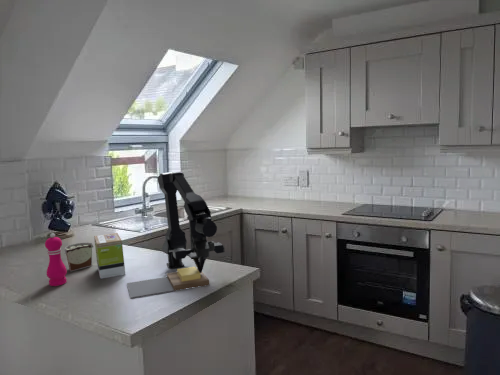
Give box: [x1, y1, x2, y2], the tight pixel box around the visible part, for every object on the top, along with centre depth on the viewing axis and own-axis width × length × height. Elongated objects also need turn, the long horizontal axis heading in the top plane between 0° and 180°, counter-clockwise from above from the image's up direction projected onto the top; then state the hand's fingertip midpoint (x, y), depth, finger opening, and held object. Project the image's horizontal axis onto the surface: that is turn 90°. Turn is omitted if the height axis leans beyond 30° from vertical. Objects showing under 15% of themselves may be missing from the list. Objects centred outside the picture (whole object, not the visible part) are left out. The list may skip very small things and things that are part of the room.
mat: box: [126, 276, 175, 300], centre depth 159 cm, size 16×15×1 cm
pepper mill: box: [44, 232, 68, 287], centre depth 168 cm, size 7×7×20 cm
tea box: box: [93, 232, 126, 279], centre depth 180 cm, size 15×10×15 cm
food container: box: [63, 242, 94, 272], centre depth 189 cm, size 12×6×10 cm, turn 135°
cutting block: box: [166, 269, 210, 292], centre depth 164 cm, size 15×13×2 cm
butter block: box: [176, 266, 201, 281], centre depth 164 cm, size 9×7×2 cm
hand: (200, 272), depth 165 cm, fingers closed
